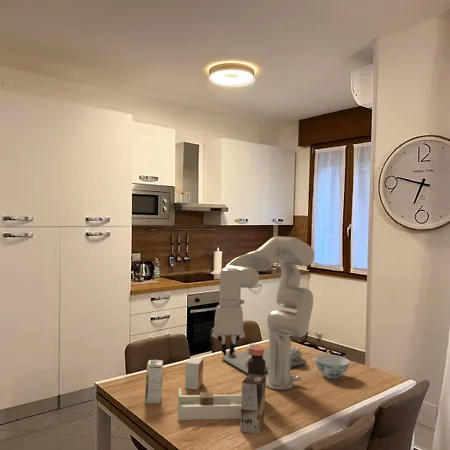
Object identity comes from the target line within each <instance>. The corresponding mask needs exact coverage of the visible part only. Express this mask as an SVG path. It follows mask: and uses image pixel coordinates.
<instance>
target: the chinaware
mask: <svg viewBox="0 0 450 450" xmlns="http://www.w3.org/2000/svg"><path fill="white" fill-rule="evenodd" d="M314 359H315V360H314V361H315V363H316V367H317V369H318V370H319V371H320V373H321V374H323V377H324V376H325V378H326V377H328V378H327V379H329V378H338V379H339V378H340V376H342V375H344V374H345V373H346V372H347V369H348V368H349V364H350V361H349V359H347V358H346V357H344V356H341V355H336V354H319V355H316V356H315V358H314Z"/></svg>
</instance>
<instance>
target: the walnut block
mask: <svg viewBox="0 0 450 450" xmlns="http://www.w3.org/2000/svg"><path fill="white" fill-rule="evenodd" d="M213 393H214V392H212V391H211V392H210V391H209V392H201V391H200V392H199V395H200V405H213V404H214V396H213V395H214V394H213Z"/></svg>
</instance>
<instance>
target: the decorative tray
mask: <svg viewBox="0 0 450 450" xmlns="http://www.w3.org/2000/svg"><path fill="white" fill-rule="evenodd" d="M248 345H249V346H248ZM248 345H247V347H246V349H247V350H246V351H243V352H237V351H235V348H234V352H233V355H230V353H229V351H230V348H228V350H226V355H224V354H223V356H221V359H222V360H223V361H224V362H226V363H227V364H229V365H231V366H233V367H235V368H236V369H238V370H240V371H242V372H243V373H245V374H247V375H248V360H249V359H250V358H251V357H252V356H251V348H252V347H260V346H259V344H257V343H256V342H255V343H252V342H251V343H248ZM263 349H264V354H263V359H264V360H265V362H266V365H265V373H268V352H269V347H268V348H263ZM303 352H304V351H301V348H300V347H297V348H296V346H295V345H294V344H293V346H291V366H290V368H294V367H300V366H304V365H306V364H307V362H308V361H307V360H306V359H304V358H303V357H302V356H303V355H304V353H303Z"/></svg>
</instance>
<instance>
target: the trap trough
mask: <svg viewBox="0 0 450 450" xmlns="http://www.w3.org/2000/svg"><path fill="white" fill-rule="evenodd" d="M177 390H178V392H177V393H178V394H177V420H178V421H189V420H190V421H191V420H192V421H193V420H198V421H199V420H234V419H235V420H237V419H240V420H241V402H242V394H213V396H214V404H213V405H200V394H195V395H194V394H193V395H187V394H186V395H183V393H182V388H181V387H178V389H177Z"/></svg>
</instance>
